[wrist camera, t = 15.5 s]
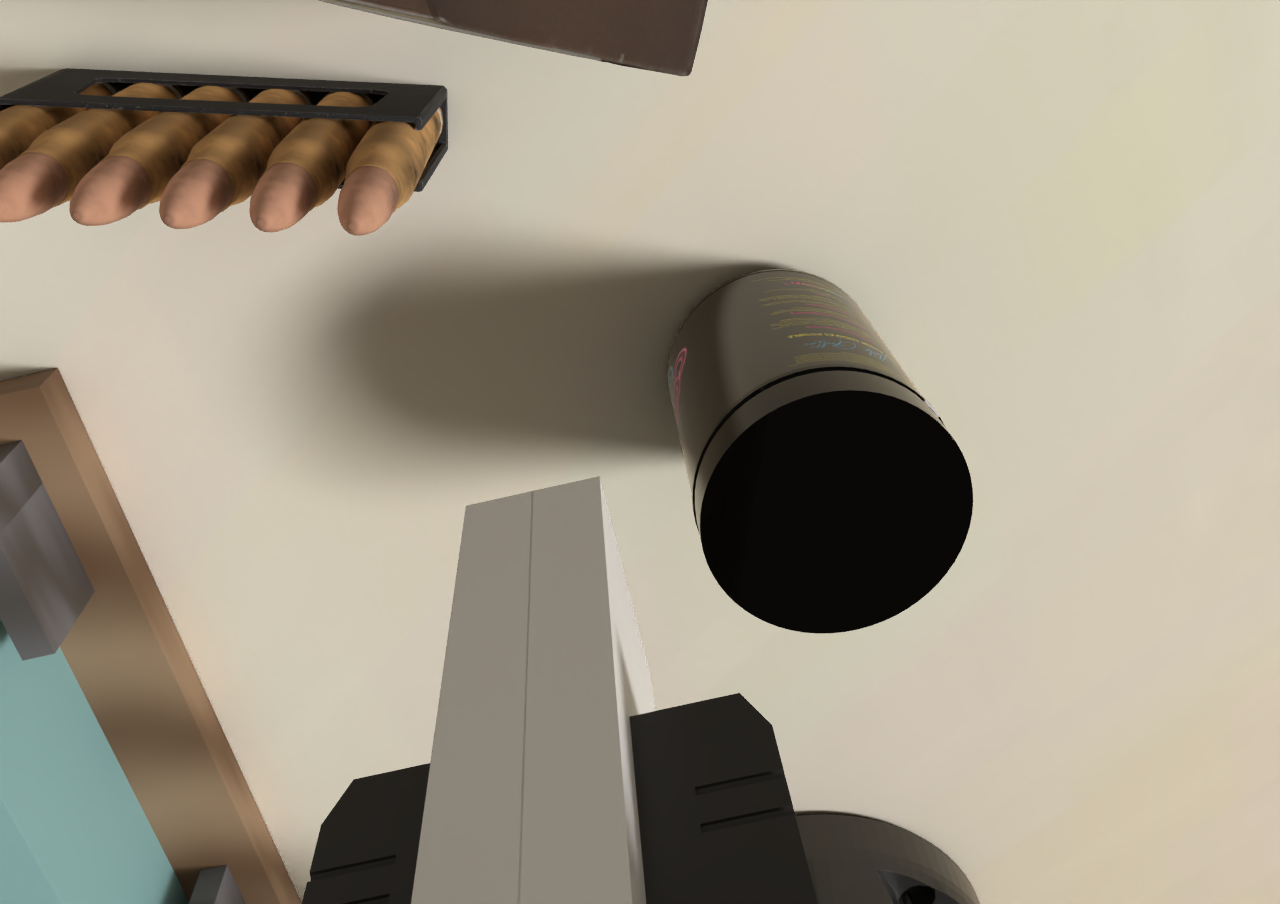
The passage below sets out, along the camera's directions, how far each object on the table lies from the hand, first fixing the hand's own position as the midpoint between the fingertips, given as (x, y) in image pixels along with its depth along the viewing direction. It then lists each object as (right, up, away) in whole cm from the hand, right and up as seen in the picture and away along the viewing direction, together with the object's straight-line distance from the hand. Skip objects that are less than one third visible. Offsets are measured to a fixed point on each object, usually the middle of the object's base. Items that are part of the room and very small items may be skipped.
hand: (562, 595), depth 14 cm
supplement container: (+5, +5, +26) cm, 26 cm away
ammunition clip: (-10, +11, +21) cm, 26 cm away
